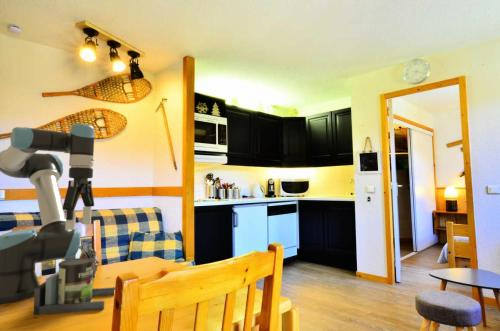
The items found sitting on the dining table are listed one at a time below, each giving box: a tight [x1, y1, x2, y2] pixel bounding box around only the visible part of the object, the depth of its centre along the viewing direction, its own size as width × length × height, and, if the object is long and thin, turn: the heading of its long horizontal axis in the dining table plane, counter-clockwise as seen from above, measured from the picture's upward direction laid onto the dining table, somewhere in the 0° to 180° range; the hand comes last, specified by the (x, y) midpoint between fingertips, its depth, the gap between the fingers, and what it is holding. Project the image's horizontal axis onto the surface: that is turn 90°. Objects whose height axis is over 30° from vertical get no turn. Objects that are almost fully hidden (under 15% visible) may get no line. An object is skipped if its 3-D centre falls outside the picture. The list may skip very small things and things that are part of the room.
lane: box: [33, 281, 116, 316], centre depth 100 cm, size 20×14×8 cm
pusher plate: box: [45, 270, 59, 305], centre depth 98 cm, size 2×11×10 cm, turn 10°
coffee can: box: [58, 257, 95, 304], centre depth 100 cm, size 10×10×14 cm
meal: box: [78, 245, 99, 282], centre depth 128 cm, size 15×4×13 cm, turn 52°
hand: (78, 226), depth 106 cm, fingers open, 13 cm apart
